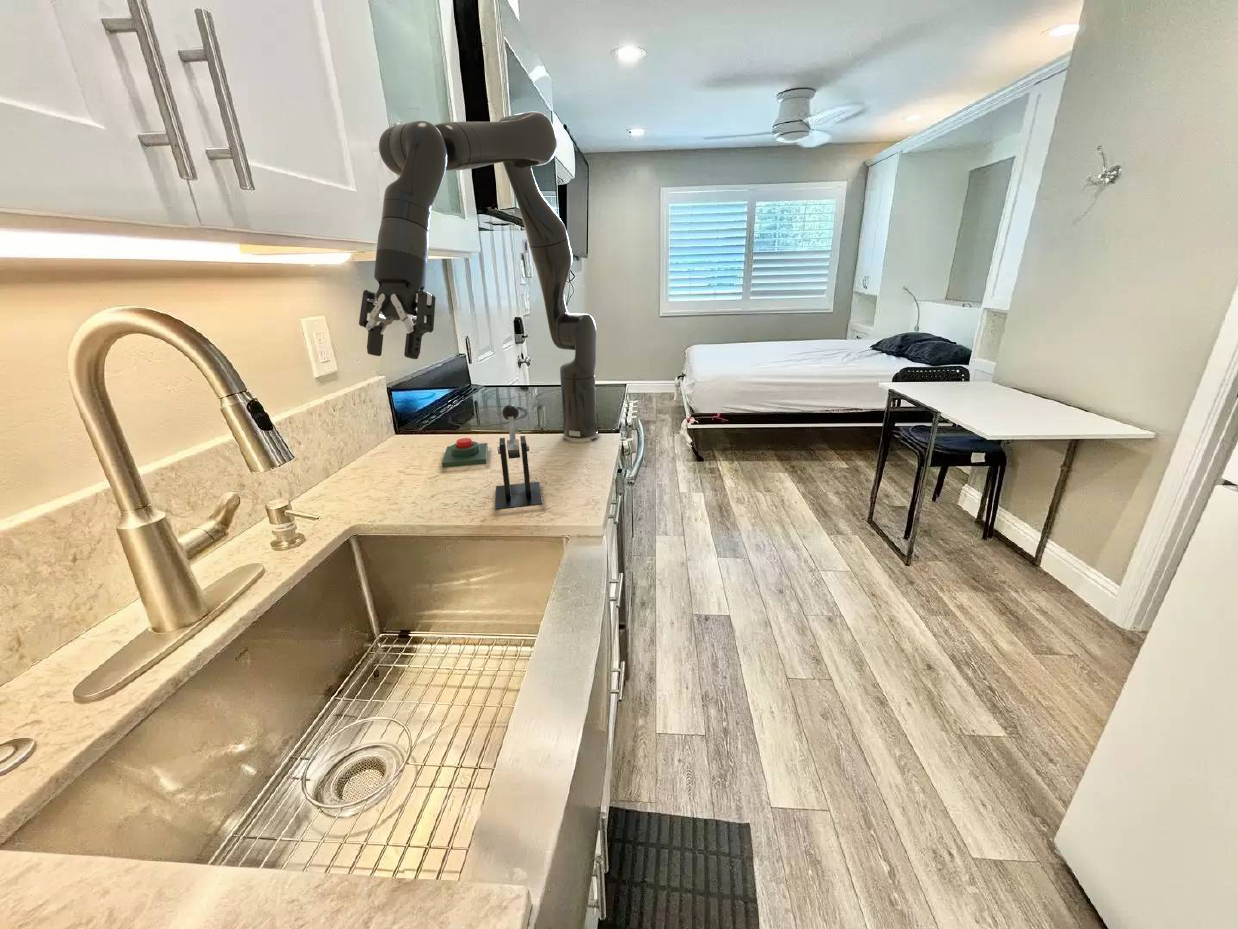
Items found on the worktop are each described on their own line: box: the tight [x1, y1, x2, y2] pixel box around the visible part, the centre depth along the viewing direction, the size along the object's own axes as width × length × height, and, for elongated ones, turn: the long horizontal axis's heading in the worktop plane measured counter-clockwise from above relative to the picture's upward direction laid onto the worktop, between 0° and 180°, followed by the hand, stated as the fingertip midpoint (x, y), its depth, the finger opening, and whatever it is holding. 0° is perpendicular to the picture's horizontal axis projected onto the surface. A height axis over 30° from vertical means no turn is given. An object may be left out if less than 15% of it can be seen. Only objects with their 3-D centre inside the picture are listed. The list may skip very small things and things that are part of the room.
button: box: [455, 437, 473, 449], centre depth 120 cm, size 4×4×2 cm
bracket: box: [494, 435, 543, 511], centre depth 98 cm, size 11×9×13 cm
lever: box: [501, 404, 521, 460], centre depth 100 cm, size 14×3×3 cm, turn 12°
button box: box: [441, 440, 489, 469], centre depth 121 cm, size 12×10×4 cm
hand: (392, 356), depth 80 cm, fingers open, 8 cm apart
